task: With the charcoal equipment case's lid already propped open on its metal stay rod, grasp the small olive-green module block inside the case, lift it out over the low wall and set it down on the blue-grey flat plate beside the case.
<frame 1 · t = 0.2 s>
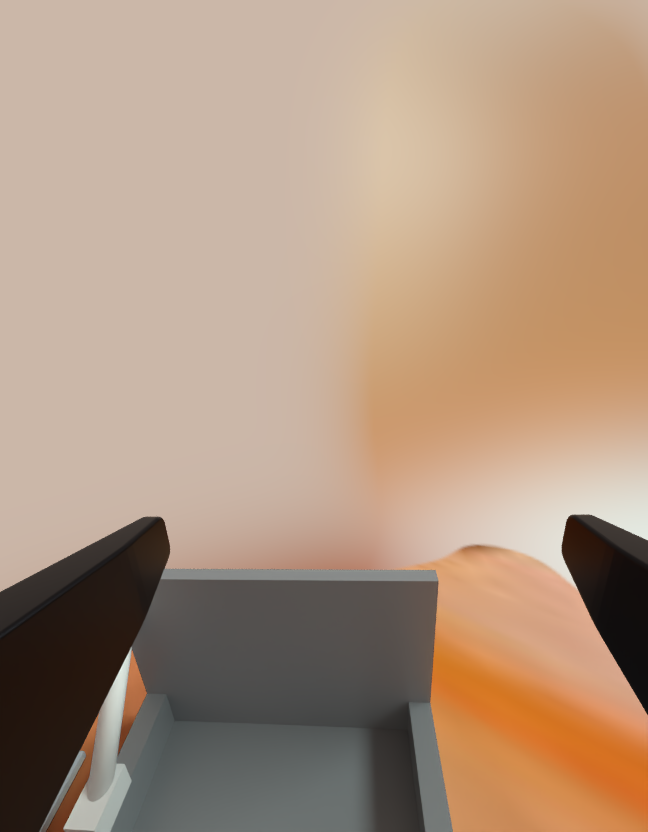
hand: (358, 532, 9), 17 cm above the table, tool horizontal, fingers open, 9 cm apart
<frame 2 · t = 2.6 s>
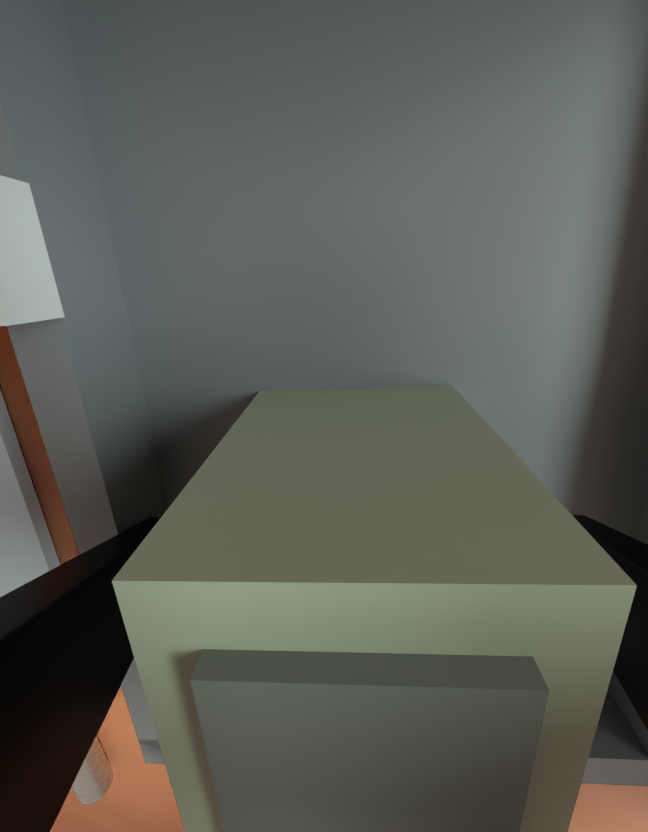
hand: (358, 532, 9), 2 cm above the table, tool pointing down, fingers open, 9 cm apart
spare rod: (73, 699, 14), on the table, touching blue-grey flat plate
equipment case: (395, 421, 10), on the table
module: (356, 501, 10), resting on equipment case
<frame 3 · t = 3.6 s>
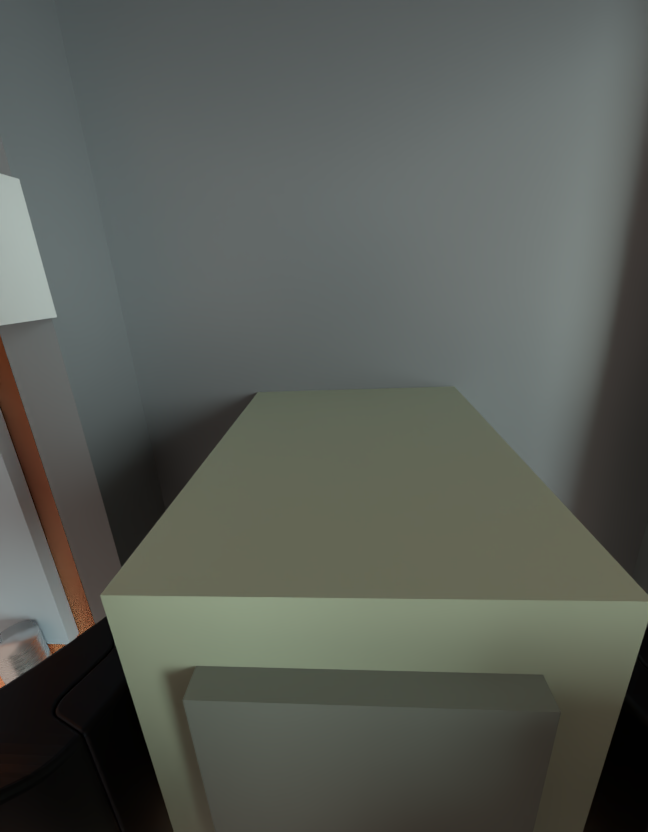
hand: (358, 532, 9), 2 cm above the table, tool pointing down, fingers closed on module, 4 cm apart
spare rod: (69, 703, 13), on the table, touching blue-grey flat plate
equipment case: (396, 423, 9), on the table
module: (356, 504, 10), resting on equipment case, touching gripper
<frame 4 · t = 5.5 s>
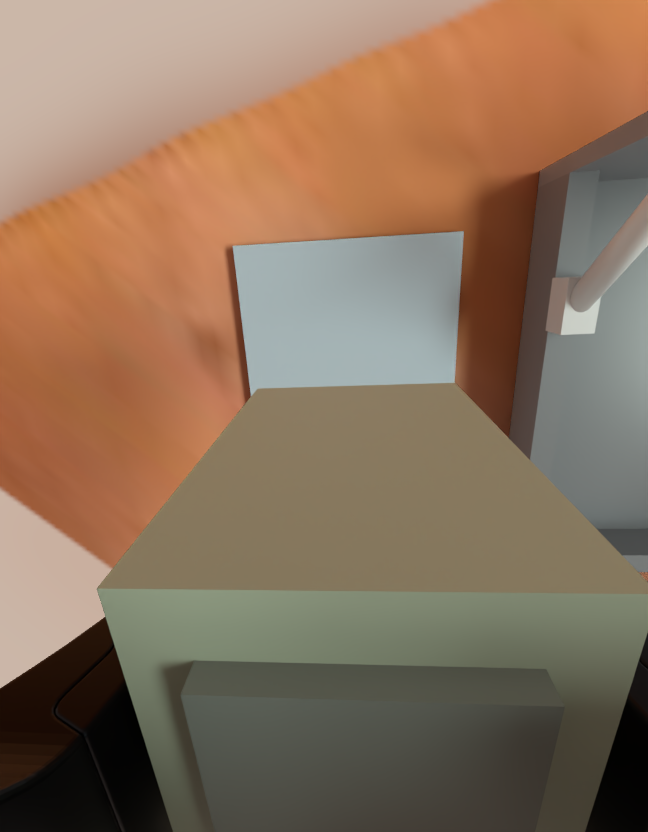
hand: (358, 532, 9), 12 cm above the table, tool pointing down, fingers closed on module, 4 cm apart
module: (357, 501, 10), point 10 cm above the table, touching gripper
blue-grey flat plate: (350, 391, 20), on the table
when the fingers open (3 cm above the table, at t = 7.5 s): module drops 1 cm, resting on blue-grey flat plate.
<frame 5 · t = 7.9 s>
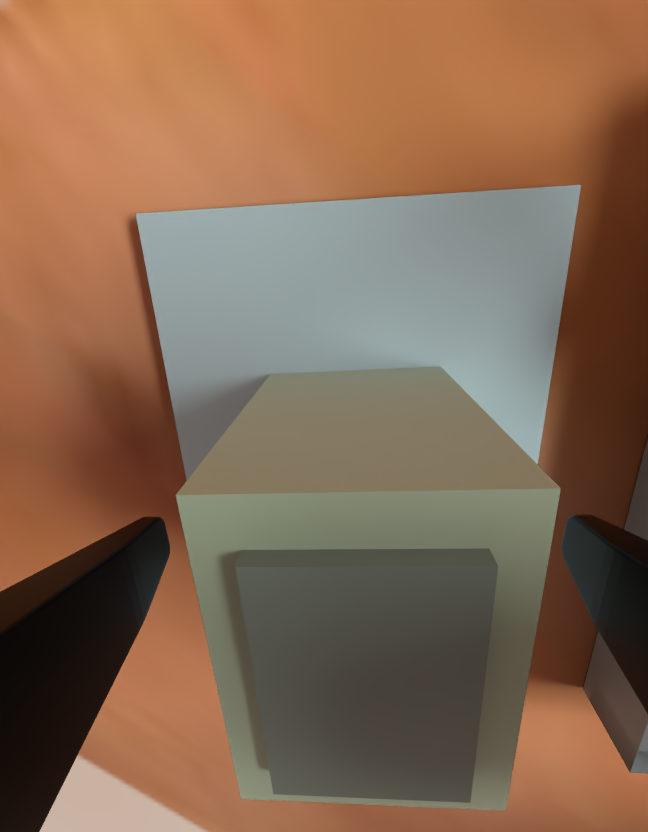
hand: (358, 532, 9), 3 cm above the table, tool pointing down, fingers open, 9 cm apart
module: (357, 472, 11), resting on blue-grey flat plate
blue-grey flat plate: (355, 468, 12), on the table
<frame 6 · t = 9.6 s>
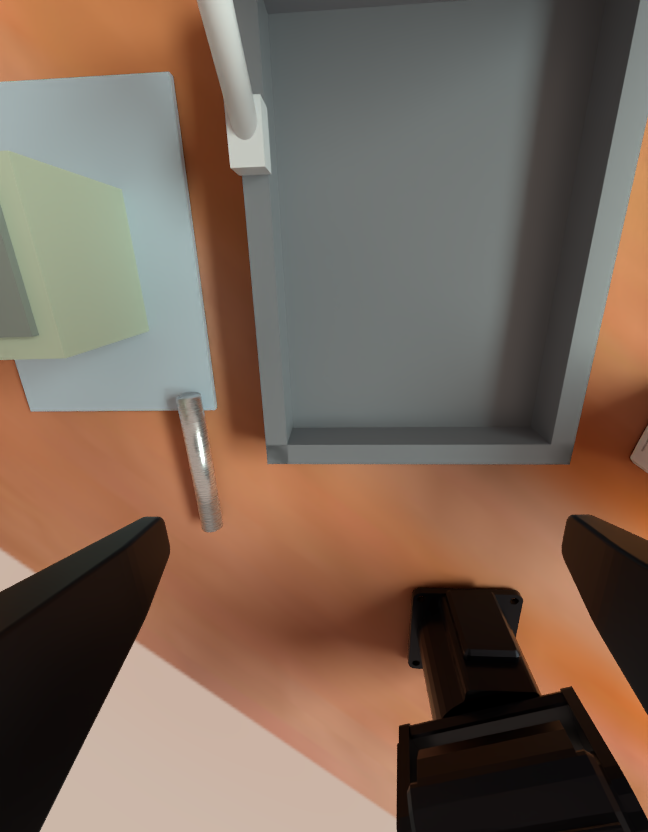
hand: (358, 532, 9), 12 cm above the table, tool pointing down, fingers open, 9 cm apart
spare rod: (205, 460, 21), on the table, touching blue-grey flat plate
equipment case: (417, 258, 17), on the table
module: (90, 266, 18), resting on blue-grey flat plate
blue-grey flat plate: (94, 268, 18), on the table
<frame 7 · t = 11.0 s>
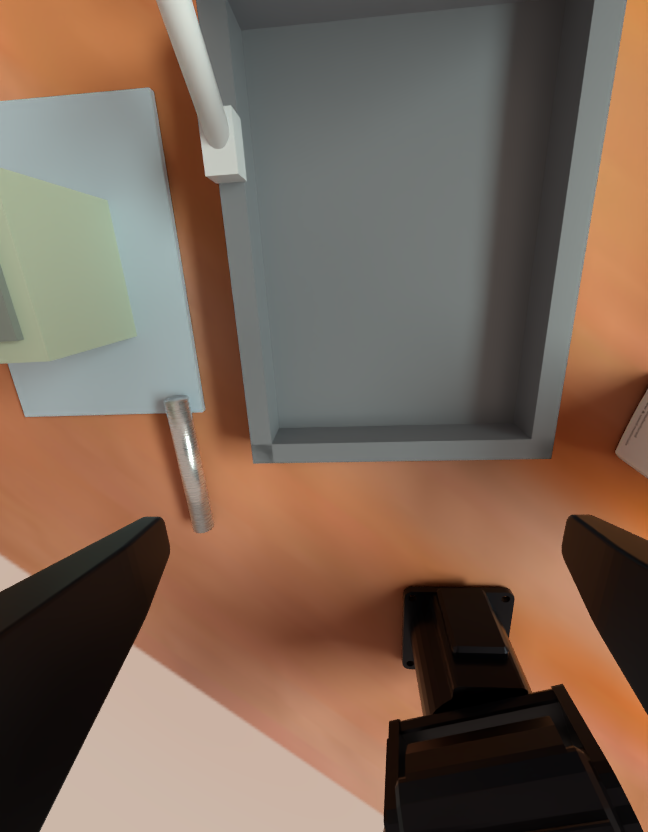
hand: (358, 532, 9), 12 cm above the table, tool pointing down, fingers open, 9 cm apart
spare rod: (194, 461, 22), on the table, touching blue-grey flat plate
equipment case: (394, 259, 18), on the table
module: (79, 274, 19), resting on blue-grey flat plate
blue-grey flat plate: (83, 276, 19), on the table
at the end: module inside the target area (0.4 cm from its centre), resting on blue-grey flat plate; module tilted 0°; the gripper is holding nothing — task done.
